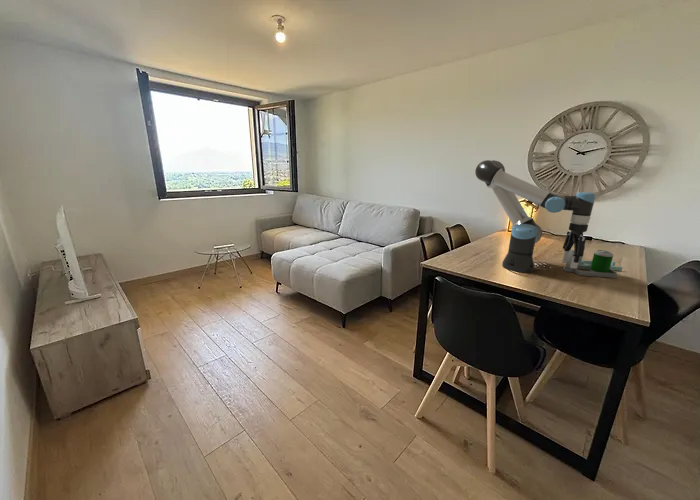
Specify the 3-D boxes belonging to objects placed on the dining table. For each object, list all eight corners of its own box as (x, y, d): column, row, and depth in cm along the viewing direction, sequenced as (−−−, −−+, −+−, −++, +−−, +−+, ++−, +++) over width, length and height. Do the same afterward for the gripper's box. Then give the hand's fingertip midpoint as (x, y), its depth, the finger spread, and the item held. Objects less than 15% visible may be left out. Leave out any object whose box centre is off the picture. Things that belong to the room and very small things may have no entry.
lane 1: (569, 274, 149) (574, 253, 146) (558, 266, 160) (562, 247, 157) (616, 277, 145) (622, 256, 142) (601, 270, 156) (607, 250, 153)
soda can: (611, 276, 147) (617, 254, 144) (594, 275, 148) (600, 253, 145) (602, 271, 154) (607, 250, 151) (586, 270, 156) (591, 249, 152)
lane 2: (577, 267, 159) (582, 248, 156) (569, 262, 168) (573, 244, 165) (621, 270, 155) (627, 250, 152) (610, 265, 164) (616, 246, 161)
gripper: (600, 227, 136) (588, 272, 143) (576, 220, 156) (567, 260, 162) (582, 226, 138) (571, 271, 144) (561, 219, 158) (552, 259, 164)
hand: (569, 265), depth 153 cm, fingers open, 8 cm apart
